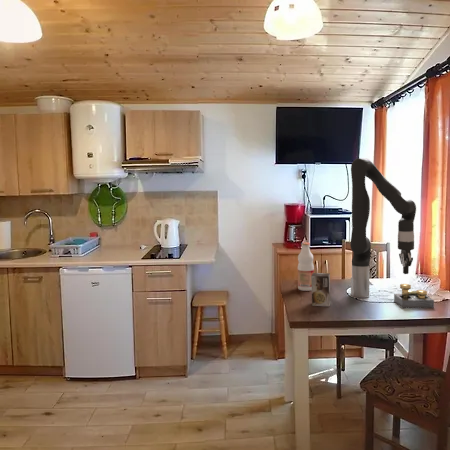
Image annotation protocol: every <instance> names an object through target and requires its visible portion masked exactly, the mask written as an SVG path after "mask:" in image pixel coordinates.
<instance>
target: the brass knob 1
mask: <svg viewBox="0 0 450 450" xmlns="http://www.w3.org/2000/svg"><path fill="white" fill-rule="evenodd" d="M399 289H401V294H402V298H409V291H410V290H411V289H412V285H411V284H410V283H401V284H399Z"/></svg>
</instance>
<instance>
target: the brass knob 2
mask: <svg viewBox="0 0 450 450" xmlns="http://www.w3.org/2000/svg"><path fill="white" fill-rule="evenodd" d="M415 291H416V294H417V295H418V298H425V296H426V295H427V296H428V291H427V290H423V289H416V290H415Z"/></svg>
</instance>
